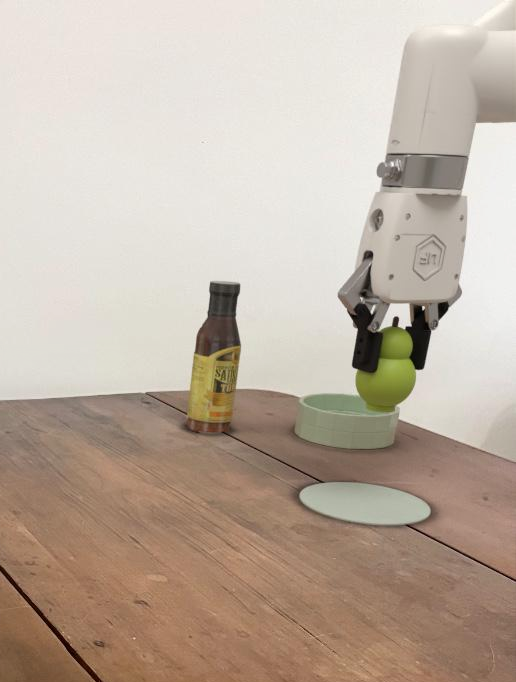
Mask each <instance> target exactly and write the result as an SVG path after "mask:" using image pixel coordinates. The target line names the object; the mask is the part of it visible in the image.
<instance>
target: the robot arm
mask: <svg viewBox="0 0 516 682" xmlns="http://www.w3.org/2000/svg"><path fill="white" fill-rule="evenodd" d="M504 123H505V124H506V123H507V124H508V123H516V0H502V1H500V2H499V3H497V4H496V5H495V6H493V7H492V8H490V9H489V10H487V11H485V12H484V13H483V14H481V15H480V16H478V17H477V18H476V19H474V20H473V21H471V23H470V24H463V23H462V24H461V23H446V24H444V23H442V24H432V25H426V26H425V25H424V26H422V27H420V28H417V29H415V30H414V31H413V32H411V33H410V34H409V35H408V37H407V39H406V40H405V43H404V46H403V49H402V55H401V60H400V66H399V73H398V79H397V85H396V90H395V96H394V102H393V108H392V115H391V120H390V127H389V133H388V139H387V144H386V151H385V157H384V161H382V162H379V164H378V165H377V167H376V176H377V177H378V178H381V179H380V187H379V191H375V193H374V195H373V198H372V201H371V203H370V207H369V209H368V212H367V215H366V219H365V222H364V226H363V229H362V233H361V238H360V241H359V246H358V250H357V255H356V261H355V265H354V270H353V271H354V272H353V273H352V274H351V275H350V277H349V278H348V279H347V280H346V282H345V283H343V285H342V286H341V288H340V289H339V290H338V291H337V298H338V299H339V301H340V302H341V304H342V305H343V306H344V308H345V309H346V312H347V314H348V315H349V317H350V318H351V321H352V327H353V328H354V329H356V330H357V331H356V337H355V342H354V343H355V344H354V349H353V354H352V360H351V368H353V369H354V370H361V371H365V372H368V373H374V372H376V371H377V368H378V363H379V357H380V351H381V346H382V340H383V333H382V332H378V331H380V330H381V327H382V324H383V322H384V319H385V318H386V315H387V312H388V310H389V308H390V306H391V304H393V305H394V304H395V305H397V304H399V305H401V304H403V305H405V304H409V317H410V320H409V321H410V325H405V328H404V330H406V331H407V332H408V333H409V335H410V336H411V338H412V342H413V349H412V352H411V355H410V357H409V358H410V360H411V361H412V362H413V365H414V367H415V370H416V371H423V370H424V369H425V366H426V361H427V357H428V352H429V346H430V341H431V336H432V331H436V330H437V328H438V327H439V325H440V320H441V319H442V318H443V317H444V316H445V315H446V314H447V313H448V311H449V308H451V307H452V306H453V305H454V304H455V303H456V302H457V301H458V300H460V298H461V297H462V294H463V289H462V288H461V286H460V278H461V273H462V268H463V261H464V256H465V255H464V254H465V247H466V239H467V229H468V227H467V226H468V195H465V194H464V195H462V193H463V189H464V184H465V179H466V175H467V170H468V165H469V160H470V158H469V157H470V154H471V149H472V145H473V139H474V134H475V130H476V125H477V124H504ZM361 298H362V299H361ZM423 307H424V309H423ZM373 308H374V309H373ZM372 309H373V311H372Z"/></svg>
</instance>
